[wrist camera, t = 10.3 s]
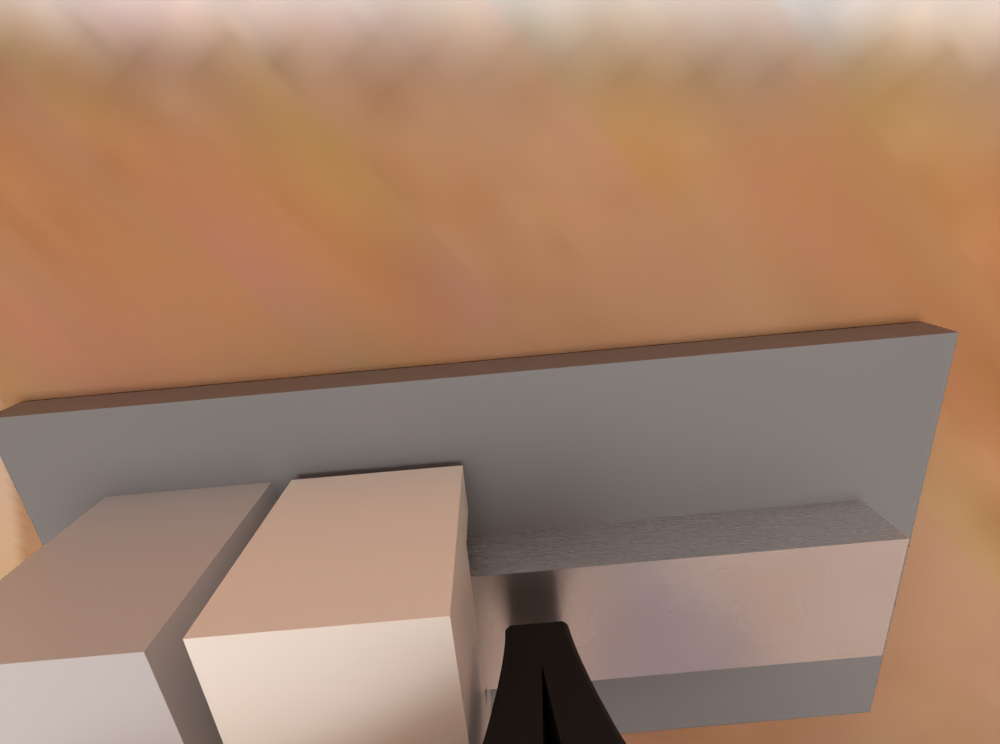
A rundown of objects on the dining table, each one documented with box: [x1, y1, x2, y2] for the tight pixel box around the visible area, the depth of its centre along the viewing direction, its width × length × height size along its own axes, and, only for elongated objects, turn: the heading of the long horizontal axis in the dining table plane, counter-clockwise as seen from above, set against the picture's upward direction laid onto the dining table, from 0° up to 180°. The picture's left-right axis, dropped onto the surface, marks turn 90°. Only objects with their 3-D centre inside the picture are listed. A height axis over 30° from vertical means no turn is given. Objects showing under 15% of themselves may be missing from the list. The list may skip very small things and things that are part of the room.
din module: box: [183, 465, 491, 744], centre depth 10 cm, size 8×4×5 cm, turn 5°
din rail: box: [466, 500, 909, 690], centre depth 12 cm, size 4×19×2 cm, turn 95°
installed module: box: [0, 482, 277, 744], centre depth 11 cm, size 8×4×5 cm, turn 5°
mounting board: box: [0, 322, 959, 734], centre depth 14 cm, size 12×22×1 cm, turn 95°
